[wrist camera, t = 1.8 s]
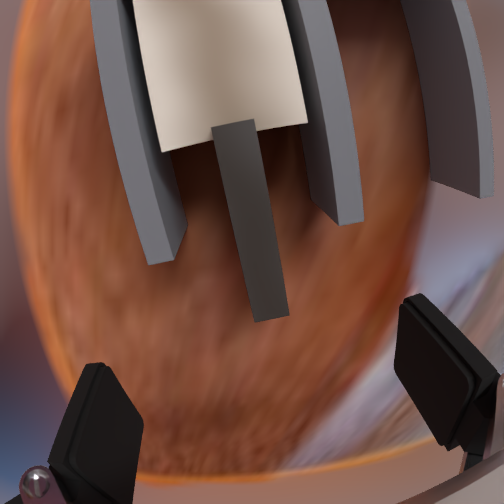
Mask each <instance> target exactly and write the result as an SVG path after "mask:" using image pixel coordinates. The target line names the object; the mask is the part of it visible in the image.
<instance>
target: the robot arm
mask: <svg viewBox="0 0 504 504" xmlns="http://www.w3.org/2000/svg"><path fill="white" fill-rule="evenodd" d="M394 370H395V373H396V375H397V376H398V378H399V380H400V381H401V383H402V384H403V386H404V388H405V389H406V391H407V392H408V394H409V396H410V397H411V399H412V400H413V402H414V404H415V405H416V407H417V409H418V410H419V412H420V414H421V415H422V417H423V419H424V420H425V422H426V424H427V425H428V427H429V429H430V430H431V432H432V434H433V435H434V437H435V439H436V441H437V442H438V444H439V445H441V446H443V445H444V446H445V447H446V449H447V451H450V450H452V449H453V448H455V447H457V446H459V445H460V446H461V447H462V449H463V451H464V455H463V459H462V463H461V467H460V471H459V475H457V476H455V477H453V478H451V479H449V480H447V481H445V482H443V483H441V484H439V485H437V486H435V487H433V488H431V489H429V490H427V491H425V492H422V493H420V494H418V495H416V496H414V497H411V498H409V499H407V500H404V501H402V502H400V503H397V504H504V373H503V374H502V375H500V374H499V373H498V372H497V370H496V369H495V368H494V366H493V365H492V364H491V363H490V362H489V361H488V360H487V359H486V358H485V357H484V356H483V354H482V353H481V352H480V351H479V350H478V349H477V348H476V347H475V346H474V345H473V344H472V343H471V342H470V341H469V340H468V339H467V338H466V336H465V335H464V334H463V333H462V332H461V331H460V330H459V329H458V328H457V327H456V326H455V325H454V324H453V323H452V322H451V321H450V320H449V319H448V318H447V317H446V316H445V315H444V314H443V313H442V312H441V311H440V310H439V309H438V308H437V307H436V306H435V305H434V304H433V303H432V302H430V301H429V300H428V299H427V298H426V297H425V296H424V295H423V294H421V293H419V294H416V295H413V296H410V297H407V298H405V299H404V301H403V304H401V305H400V307H399V319H398V331H397V341H396V350H395V359H394ZM143 428H144V423H143V419H142V417H141V415H140V414H139V412H138V411H137V409H136V408H135V406H134V405H133V403H132V402H131V400H130V399H129V397H128V396H127V394H126V392H125V391H124V389H123V388H122V386H121V384H120V383H119V381H118V379H117V378H116V376H115V374H114V373H113V371H112V369H111V368H110V367H109V366H106V365H105V364H104V363H102V362H100V363H90V364H86V365H85V367H84V369H83V371H82V374H81V376H80V378H79V381H78V383H77V385H76V388H75V390H74V392H73V395H72V397H71V400H70V402H69V404H68V407H67V409H66V412H65V415H64V417H63V420H62V422H61V425H60V427H59V430H58V433H57V436H56V438H55V441H54V444H53V446H52V449H51V452H50V455H49V458H48V461H47V462H48V463H49V464H50V466H49V469H48V468H47V467H45V466H41V465H40V466H34V467H31V468H29V469H28V470H27V471H25V473H24V474H23V475H22V477H21V480H20V483H19V491H20V494H19V495H18V496H16V497H14V498H13V499H11V500H10V501H8V502H6V503H5V504H132V502H133V493H134V486H135V479H136V472H137V465H138V458H139V452H140V446H141V440H142V434H143Z"/></svg>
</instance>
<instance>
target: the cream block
mask: <svg viewBox="0 0 504 504" xmlns="http://www.w3.org/2000/svg"><path fill="white" fill-rule="evenodd" d="M133 6H134V12H135V19H136V25H137V31H138V37H139V43H140V49H141V55H142V60H143V66H144V71H145V76H146V81H147V86H148V91H149V96H150V101H151V106H152V111H153V115H154V120H155V124H156V129H157V133H158V138H159V142H160V147H161V151H162V152H165V151H169V150H173V149H177V148H181V147H185V146H189V145H193V144H197V143H201V142H206V141H210V140H214V145H215V149H216V154H217V158H218V163H219V168H220V172H221V177H222V181H223V186H224V190H225V195H226V199H227V204H228V208H229V213H230V217H231V222H232V226H233V231H234V235H235V240H236V244H237V248H238V253H239V257H240V261H241V266H242V270H243V275H244V279H245V283H246V288H247V292H248V296H249V300H250V305H251V309H252V313H253V318H254V322H260V321H265V320H270V319H275V318H280V317H284V316H289V309H288V303H287V297H286V290H285V284H284V278H283V273H282V267H281V261H280V255H279V249H278V244H277V238H276V232H275V227H274V221H273V215H272V210H271V204H270V199H269V194H268V188H267V183H266V178H265V172H264V167H263V162H262V157H261V151H260V146H259V141H258V136H257V131H259V130H265V129H271V128H276V127H283V126H289V125H295V124H302V123H308V120H307V115H306V109H305V104H304V99H303V94H302V89H301V84H300V79H299V74H298V70H297V65H296V60H295V56H294V51H293V47H292V43H291V38H290V34H289V30H288V26H287V22H286V18H285V14H284V10H283V6H282V3H281V0H133Z"/></svg>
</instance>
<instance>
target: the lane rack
mask: <svg viewBox="0 0 504 504" xmlns="http://www.w3.org/2000/svg"><path fill="white" fill-rule="evenodd" d="M400 2H401V5H402V9H403V12H404V15H405V19H406V22H407V26H408V30H409V34H410V38H411V42H412V46H413V50H414V55H415V59H416V64H417V69H418V74H419V79H420V85H421V91H422V97H423V103H424V110H425V118H426V126H427V135H428V145H429V158H430V173H431V180H432V181H435V182H438V183H441V184H444V185H446V186H449V187H452V188H454V189H457V190H460V191H462V192H465V193H467V194H470V195H472V196H475V197H477V198H485V197H491V196H493V195H494V160H493V159H494V158H493V138H492V126H491V115H490V106H489V99H488V91H487V85H486V79H485V74H484V68H483V63H482V58H481V53H480V49H479V45H478V41H477V37H476V33H475V29H474V25H473V22H472V18H471V15H470V12H469V9H468V5H467V2H466V0H400ZM281 3H282V6H283V10H284V14H285V18H286V22H287V26H288V30H289V34H290V38H291V43H292V47H293V51H294V56H295V60H296V65H297V70H298V74H299V79H300V84H301V89H302V94H303V99H304V104H305V109H306V115H307V120H308V123H302V124H299V128H300V134H301V139H302V145H303V151H304V157H305V163H306V169H307V176H308V182H309V189H310V196H311V200H312V201H313V202H314V203H315V204H316V205H317V206H318V207H319V208H320V209H321V210H323V211H324V212H325V213H326V214H327V215H328V216H329V217H330V218H331V219H332V220H333V221H334V222H335V223H336V224H337V225H338V226H342V225H347V224H352V223H357V222H362V221H364V212H363V200H362V189H361V180H360V171H359V162H358V154H357V147H356V140H355V133H354V126H353V120H352V114H351V108H350V102H349V96H348V91H347V86H346V81H345V76H344V71H343V66H342V61H341V57H340V53H339V48H338V44H337V40H336V36H335V32H334V28H333V24H332V20H331V16H330V13H329V9H328V5H327V2H326V0H281ZM90 6H91V16H92V25H93V33H94V41H95V48H96V55H97V62H98V68H99V74H100V80H101V86H102V91H103V96H104V102H105V107H106V112H107V116H108V121H109V126H110V130H111V135H112V139H113V144H114V148H115V152H116V156H117V160H118V164H119V168H120V172H121V176H122V180H123V183H124V187H125V191H126V194H127V198H128V201H129V205H130V208H131V212H132V215H133V218H134V222H135V225H136V228H137V232H138V235H139V238H140V241H141V244H142V247H143V250H144V253H145V256H146V259H147V262H148V265H153V264H157V263H162V262H167V261H172V260H174V259H175V256H176V254H177V251H178V249H179V246H180V244H181V241H182V239H183V236H184V234H185V231H186V229H187V226H188V224H187V220H186V216H185V212H184V208H183V205H182V201H181V197H180V193H179V189H178V185H177V181H176V177H175V173H174V168H173V164H172V160H171V156H170V152H169V151H165V152H162V151H161V147H160V142H159V138H158V133H157V129H156V124H155V120H154V115H153V111H152V106H151V101H150V96H149V91H148V86H147V81H146V76H145V71H144V66H143V60H142V55H141V49H140V43H139V37H138V31H137V25H136V19H135V12H134V6H133V0H90Z"/></svg>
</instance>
